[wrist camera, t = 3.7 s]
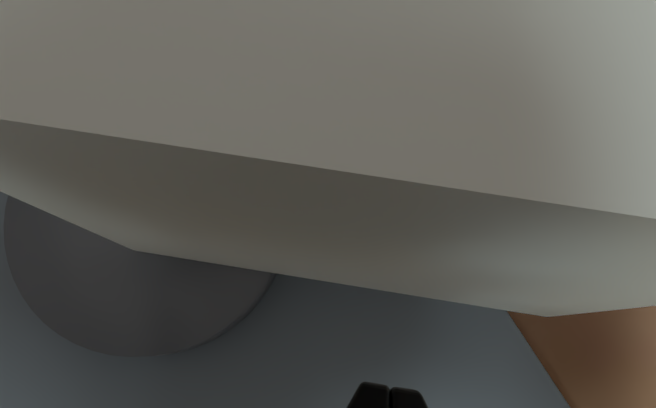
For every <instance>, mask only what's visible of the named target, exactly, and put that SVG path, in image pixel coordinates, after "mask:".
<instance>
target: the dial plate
mask: <svg viewBox="0 0 656 408" xmlns="http://www.w3.org/2000/svg"><path fill="white" fill-rule="evenodd" d="M7 198H8V195H7V194H5V193H3V192H0V408H347V406H348V404H349V402H350V400H351V399H352V397H353V395H354V393H355V392H356V390H357V388H358V386H359V385H360V384H361V383H362V382H372V383H378V384H384V385H387V386H388V387H389V389H391V388H393V387H402V388H408V389H414V390H417V391H419V392H420V393H421V394H422V396H423V398H424V400H425V402H426V404H427V406H428V408H570V406H569V405H568V403H567V402H566V400H565V399H564V397H563V396H562V394H561V393H560V391H559V390H558V388H557V387H556V385H555V384H554V382H553V381H552V379H551V378H550V376H549V375H548V373H547V371H546V370H545V368H544V367H543V365H542V364H541V362H540V361H539V359H538V358H537V356H536V355H535V353H534V352H533V350H532V349H531V347H530V346H529V344H528V343H527V341H526V340H525V338H524V337H523V335H522V333H521V332H520V330H519V329H518V327H517V326H516V324H515V323H514V321H513V320H512V318H511V317H510V315H509V314H508V312H507V311H506V310H500V309H493V308H487V307H481V306H475V305H469V304H462V303H456V302H450V301H444V300H438V299H431V298H425V297H419V296H413V295H407V294H400V293H394V292H388V291H382V290H376V289H369V288H363V287H357V286H351V285H345V284H338V283H332V282H326V281H320V280H314V279H307V278H301V277H295V276H289V275H283V274H276V276H275V278H274V280H273V281H272V283H271V285H270V287H269V289H268V290H267V292H266V293H265V295H264V296H263V297H262V299H261V300H260V301H259V303H258V304H257V305H256V306H255V307H254V308H253V310H252V311H251V312H250V313H249V314H248V315H247V316H246V317H245V318H244V319H243V320H241V321H240V322H239V323H238V324H237V325H235V326H234V327H233V328H232V329H230V330H229V331H227V332H226V333H224V334H222V335H221V336H219V337H218V338H216V339H214V340H212V341H210V342H208V343H205V344H203V345H201V346H199V347H196V348H193V349H189V350H186V351H183V352H178V353H173V354H167V355H159V356H146V357H123V356H113V355H107V354H103V353H99V352H95V351H91V350H89V349H86V348H84V347H81V346H79V345H76V344H74V343H72V342H70V341H69V340H67V339H65V338H64V337H62V336H60V335H58V334H57V333H56V332H55V331H53V330H52V329H51V328H50V327H48V326H47V325H46V324H44V323H43V322H42V320H41V319H40V318H39V317H38V316H37V315H36V314H35V313H34V312H33V311H32V310H31V308H30V307H29V306H28V304H27V303H26V301H25V300H24V298H23V297H22V295H21V294H20V292H19V290H18V288H17V286H16V284H15V282H14V280H13V277H12V274H11V271H10V268H9V265H8V262H7V257H6V251H5V246H4V227H3V226H4V215H5V206H6V202H7Z"/></svg>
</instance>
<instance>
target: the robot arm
mask: <svg viewBox="0 0 656 408" xmlns="http://www.w3.org/2000/svg"><path fill="white" fill-rule="evenodd" d="M347 408H428V406H427V404H426V402H425V400H424V398H423V396H422V394H421V393H420V392H419V391H417V390H414V389H408V388H402V387H393V388H391V389H389V387H388V386H387V385H384V384H378V383H372V382H362V383H361V384H360V385H359V386H358V388H357V390H356V392H355V393H354V395H353V397H352V399H351V400H350V402H349V404H348V406H347Z"/></svg>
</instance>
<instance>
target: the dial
mask: <svg viewBox="0 0 656 408" xmlns="http://www.w3.org/2000/svg"><path fill="white" fill-rule="evenodd" d="M0 192H3V193H5V194H7V195H8V198H7V202H6V206H5V215H4V226H3V227H4V246H5V251H6V257H7V262H8V265H9V268H10V271H11V274H12V277H13V280H14V282H15V284H16V286H17V288H18V290H19V292H20V294H21V295H22V297H23V298H24V300H25V301H26V303H27V304H28V306H29V307H30V308H31V310H32V311H33V312H34V313H35V314H36V315H37V316H38V317H39V318H40V319H41V320H42V322H43V323H44V324H46V325H47V326H48V327H50V328H51V329H52V330H53V331H55V332H56V333H57V334H58V335H60V336H62V337H64V338H65V339H67V340H69V341H70V342H72V343H74V344H76V345H79V346H81V347H84V348H86V349H89V350H91V351H95V352H99V353H103V354H107V355H113V356H123V357H146V356H159V355H167V354H173V353H178V352H183V351H186V350H189V349H193V348H196V347H199V346H201V345H203V344H205V343H208V342H210V341H212V340H214V339H216V338H218V337H219V336H221V335H222V334H224V333H226V332H227V331H229V330H230V329H232V328H233V327H234V326H235V325H237V324H238V323H239V322H240V321H241V320H243V319H244V318H245V317H246V316H247V315H248V314H249V313H250V312H251V311H252V310H253V308H254V307H255V306H256V305H257V304H258V303H259V301H260V300H261V299H262V297H263V296H264V295H265V293H266V292H267V290H268V289H269V287H270V285H271V283H272V281H273V280H274V278H275V276H276V274H283V275H289V276H295V277H301V278H307V279H314V280H320V281H326V282H332V283H338V284H345V285H351V286H357V287H363V288H369V289H376V290H382V291H388V292H394V293H400V294H407V295H413V296H419V297H425V298H431V299H438V300H444V301H450V302H456V303H462V304H469V305H475V306H481V307H487V308H493V309H500V310H506V311H512V312H518V313H524V314H531V315H537V316H543V317H553V316H563V315H572V314H582V313H592V312H601V311H611V310H620V309H630V308H640V307H649V306H656V0H0Z"/></svg>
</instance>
